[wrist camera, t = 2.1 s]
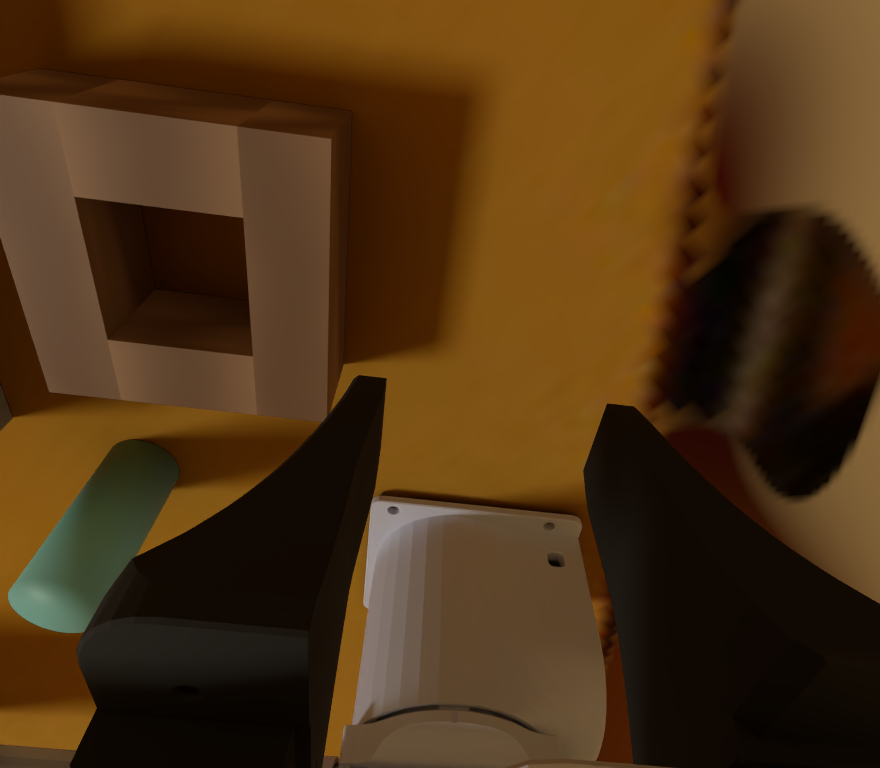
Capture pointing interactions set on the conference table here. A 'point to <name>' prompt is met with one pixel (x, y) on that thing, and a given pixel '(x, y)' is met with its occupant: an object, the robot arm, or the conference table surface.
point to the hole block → (126, 249)
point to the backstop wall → (4, 410)
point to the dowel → (95, 538)
